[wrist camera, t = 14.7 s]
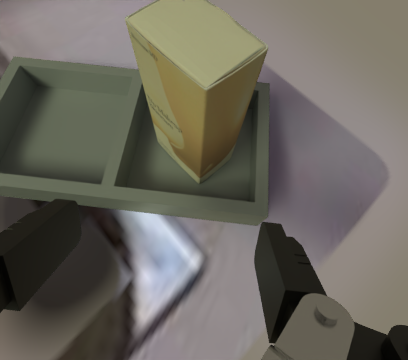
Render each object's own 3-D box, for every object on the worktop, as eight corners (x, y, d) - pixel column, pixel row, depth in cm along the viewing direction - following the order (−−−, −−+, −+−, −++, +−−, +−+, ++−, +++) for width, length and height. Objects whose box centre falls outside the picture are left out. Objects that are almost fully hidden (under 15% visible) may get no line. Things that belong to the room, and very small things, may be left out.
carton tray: (-18, 193, 21) (-56, 179, 18) (36, 83, 26) (13, 56, 23) (257, 225, 21) (267, 216, 18) (260, 107, 26) (269, 83, 23)
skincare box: (156, 142, 23) (116, 13, 12) (190, 117, 24) (182, -22, 13) (201, 188, 21) (205, 90, 10) (235, 159, 22) (272, 42, 11)
